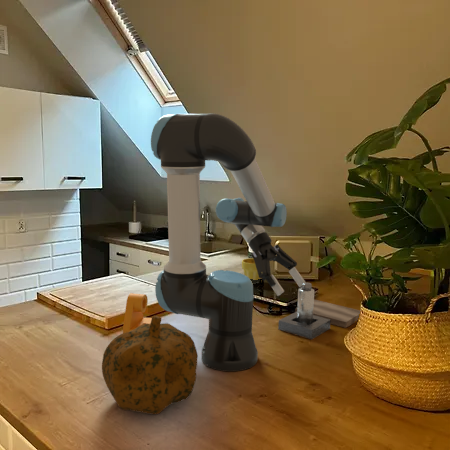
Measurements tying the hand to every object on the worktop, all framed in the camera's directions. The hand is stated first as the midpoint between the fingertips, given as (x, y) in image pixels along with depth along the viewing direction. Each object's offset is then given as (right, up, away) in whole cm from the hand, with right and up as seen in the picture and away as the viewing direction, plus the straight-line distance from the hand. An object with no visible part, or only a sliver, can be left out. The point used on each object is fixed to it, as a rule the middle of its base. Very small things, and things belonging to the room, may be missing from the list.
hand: (292, 289), depth 148 cm
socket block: (+3, -12, -3) cm, 13 cm away
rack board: (+14, -11, +10) cm, 20 cm away
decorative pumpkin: (-39, -18, -47) cm, 64 cm away
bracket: (-48, -12, -9) cm, 50 cm away
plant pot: (-10, -4, +49) cm, 50 cm away
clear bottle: (+3, -12, -3) cm, 13 cm away
